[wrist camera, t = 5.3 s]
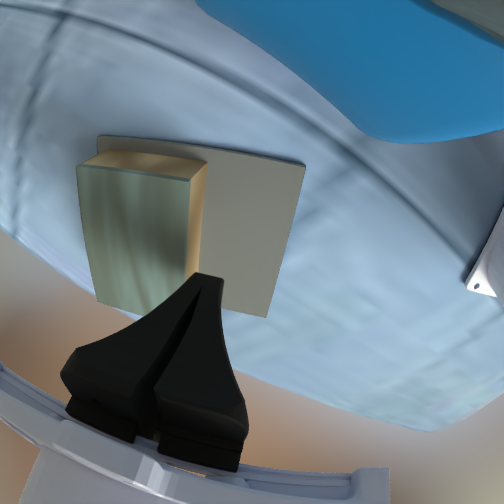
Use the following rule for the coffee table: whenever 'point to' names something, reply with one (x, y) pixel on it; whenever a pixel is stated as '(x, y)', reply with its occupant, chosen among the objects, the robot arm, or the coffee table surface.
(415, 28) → the alarm clock
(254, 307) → the rubber mat
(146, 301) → the oak slab
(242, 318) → the coffee table surface
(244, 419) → the robot arm
